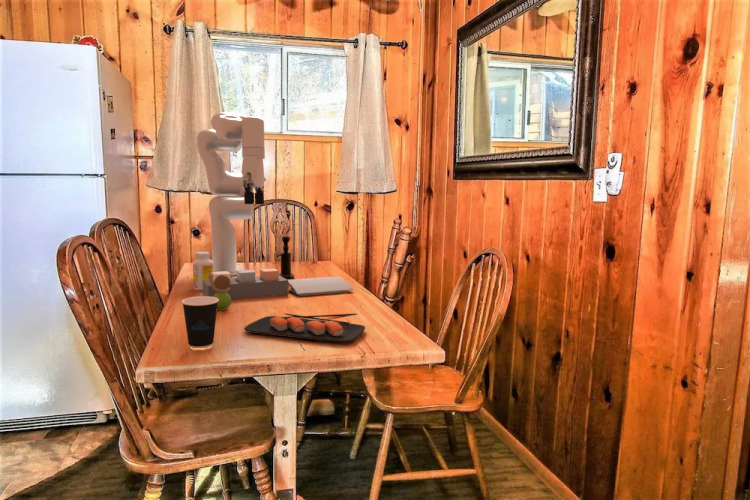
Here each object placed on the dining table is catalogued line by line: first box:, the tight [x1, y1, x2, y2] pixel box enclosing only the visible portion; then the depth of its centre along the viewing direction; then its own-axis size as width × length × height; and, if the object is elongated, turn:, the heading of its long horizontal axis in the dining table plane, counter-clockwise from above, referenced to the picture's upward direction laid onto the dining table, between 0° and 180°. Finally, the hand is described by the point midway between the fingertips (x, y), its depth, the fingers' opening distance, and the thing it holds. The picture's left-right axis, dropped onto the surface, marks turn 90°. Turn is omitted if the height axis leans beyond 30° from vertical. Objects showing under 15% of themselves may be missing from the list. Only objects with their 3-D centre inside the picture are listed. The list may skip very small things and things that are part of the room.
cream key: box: [212, 271, 232, 283], centre depth 164 cm, size 5×5×4 cm
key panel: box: [202, 276, 289, 301], centre depth 168 cm, size 10×26×5 cm, turn 119°
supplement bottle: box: [192, 251, 213, 291], centre depth 176 cm, size 7×7×13 cm
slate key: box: [235, 269, 256, 282], centre depth 168 cm, size 5×5×4 cm
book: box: [288, 276, 354, 297], centre depth 178 cm, size 15×23×4 cm, turn 117°
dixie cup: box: [181, 295, 219, 348], centre depth 114 cm, size 8×8×11 cm
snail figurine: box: [208, 270, 232, 311], centre depth 147 cm, size 5×6×12 cm
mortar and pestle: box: [279, 234, 295, 280], centre depth 193 cm, size 7×6×18 cm
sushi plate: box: [243, 313, 366, 343], centre depth 135 cm, size 29×30×4 cm
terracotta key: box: [259, 267, 280, 281], centre depth 172 cm, size 5×5×4 cm
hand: (254, 204), depth 174 cm, fingers open, 9 cm apart
